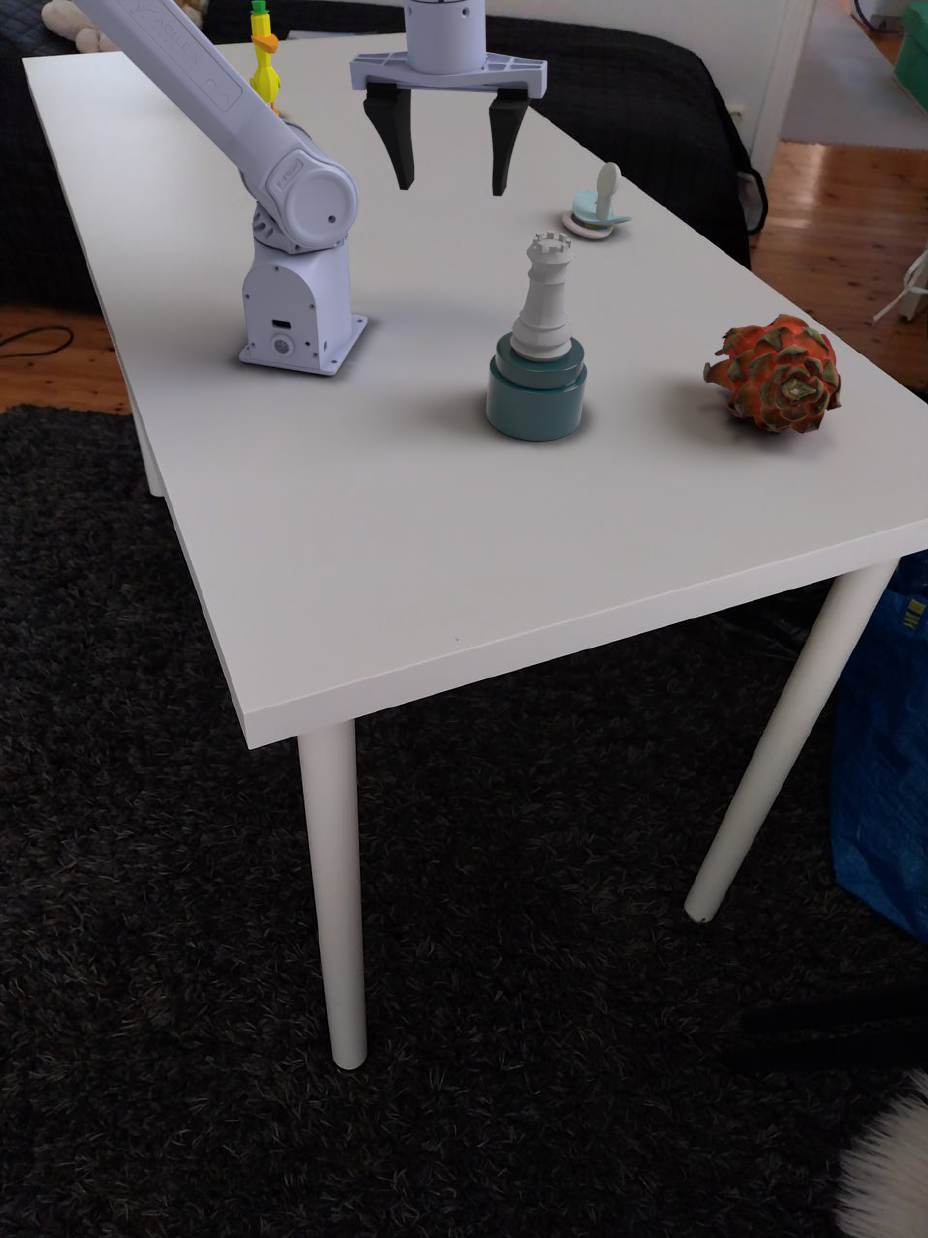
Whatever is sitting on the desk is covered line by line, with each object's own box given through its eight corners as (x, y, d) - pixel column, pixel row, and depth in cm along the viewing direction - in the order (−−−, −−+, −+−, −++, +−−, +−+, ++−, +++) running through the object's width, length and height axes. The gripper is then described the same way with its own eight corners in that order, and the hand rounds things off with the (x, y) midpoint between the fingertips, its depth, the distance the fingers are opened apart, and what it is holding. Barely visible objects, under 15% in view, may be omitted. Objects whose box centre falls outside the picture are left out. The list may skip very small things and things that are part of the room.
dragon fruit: (797, 483, 71) (709, 418, 80) (890, 405, 70) (791, 348, 79) (755, 407, 65) (666, 346, 75) (856, 321, 64) (753, 270, 73)
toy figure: (293, 123, 116) (285, 8, 108) (265, 126, 115) (254, 10, 106) (275, 106, 120) (266, -6, 112) (248, 108, 119) (236, -5, 111)
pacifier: (585, 248, 95) (636, 237, 97) (592, 183, 91) (646, 173, 93) (549, 219, 100) (599, 209, 102) (554, 156, 95) (606, 147, 97)
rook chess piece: (566, 368, 68) (581, 257, 62) (504, 359, 68) (513, 248, 62) (574, 337, 71) (589, 229, 65) (514, 329, 71) (524, 221, 66)
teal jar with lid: (573, 448, 70) (583, 381, 66) (477, 432, 71) (481, 365, 67) (586, 397, 75) (596, 332, 71) (496, 383, 76) (501, 318, 72)
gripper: (556, -23, 68) (551, 172, 78) (362, -27, 71) (381, 162, 81) (538, 7, 64) (535, 210, 74) (331, 1, 66) (355, 198, 76)
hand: (453, 187), depth 77 cm, fingers open, 7 cm apart
